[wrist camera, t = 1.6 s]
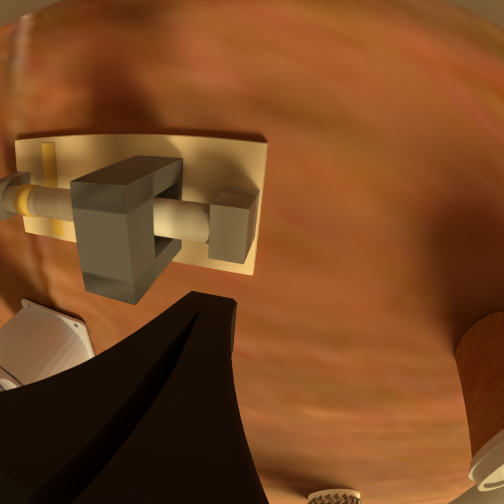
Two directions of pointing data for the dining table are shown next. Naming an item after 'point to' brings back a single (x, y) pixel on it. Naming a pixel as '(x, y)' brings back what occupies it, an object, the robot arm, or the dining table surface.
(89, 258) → the grey notched block
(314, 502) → the decorative candle
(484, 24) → the dining table surface
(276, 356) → the dining table surface
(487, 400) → the disposable coffee cup
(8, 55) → the dining table surface
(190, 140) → the pipe stand
